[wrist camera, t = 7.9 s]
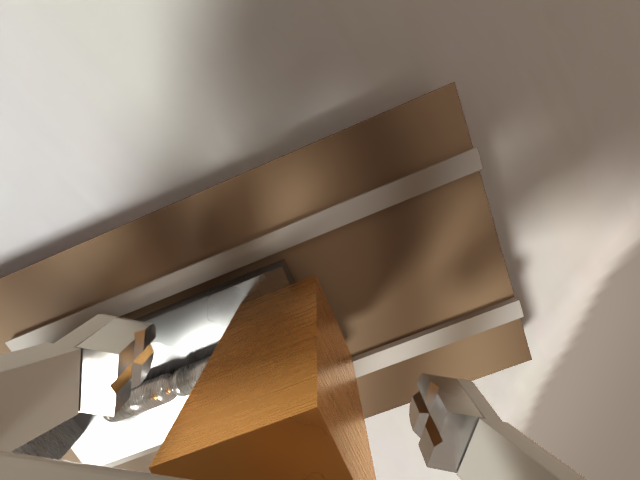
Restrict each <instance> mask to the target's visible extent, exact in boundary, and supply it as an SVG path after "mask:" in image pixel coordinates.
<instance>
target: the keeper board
mask: <svg viewBox="0 0 640 480" xmlns="http://www.w3.org/2000/svg"><path fill="white" fill-rule="evenodd" d="M481 169H483V166H482V163H481V159H480V156H479V152H478V148H473V146H472V143H471V139H470V136H469V132H468V129H467V125H466V121H465V118H464V114H463V111H462V107H461V103H460V100H459V96H458V93H457V89H456V85H455V82H453V83H451V84H448V85H446V86H444V87H442V88H439V89H437V90H435V91H432V92H430V93H428V94H425V95H423V96H421V97H418V98H416V99H414V100H411V101H409V102H407V103H405V104H402V105H400V106H398V107H395V108H393V109H391V110H388V111H386V112H384V113H381V114H379V115H377V116H374V117H372V118H370V119H368V120H365V121H363V122H361V123H358V124H356V125H354V126H351V127H349V128H347V129H344V130H342V131H340V132H337V133H335V134H333V135H331V136H328V137H326V138H324V139H321V140H319V141H317V142H314V143H312V144H310V145H307V146H305V147H303V148H300V149H298V150H296V151H294V152H291V153H289V154H287V155H284V156H282V157H280V158H277V159H275V160H273V161H270V162H268V163H266V164H264V165H261V166H259V167H257V168H254V169H252V170H250V171H247V172H245V173H243V174H240V175H238V176H236V177H233V178H231V179H229V180H227V181H224V182H222V183H220V184H217V185H215V186H213V187H210V188H208V189H206V190H203V191H201V192H199V193H196V194H194V195H192V196H190V197H187V198H185V199H183V200H180V201H178V202H176V203H173V204H171V205H169V206H166V207H164V208H162V209H159V210H157V211H155V212H153V213H150V214H148V215H146V216H143V217H141V218H139V219H136V220H134V221H132V222H129V223H127V224H125V225H122V226H120V227H118V228H116V229H113V230H111V231H109V232H106V233H104V234H102V235H99V236H97V237H95V238H92V239H90V240H88V241H85V242H83V243H81V244H79V245H76V246H74V247H72V248H69V249H67V250H65V251H62V252H60V253H58V254H55V255H53V256H51V257H49V258H46V259H44V260H42V261H39V262H37V263H35V264H32V265H30V266H28V267H25V268H23V269H21V270H18V271H16V272H14V273H12V274H9V275H7V276H5V277H2V278H0V355H1V354H5V353H9V352H13V351H17V350H20V349H24V348H28V347H32V346H36V345H40V344H43V343H55V342H57V341H58V340H60V339H61V338H63V337H64V336H66V335H67V334H69V333H70V332H72V331H73V330H75V329H76V328H78V327H79V326H81V325H82V324H84V323H85V322H87V321H88V320H90V319H92V318H93V317H95V316H96V315H98V314H107V315H113V316H118V317H123V318H128V319H133V320H134V319H136V318H138V317H141V316H143V315H146V314H148V313H151V312H153V311H156V310H158V309H161V308H163V307H166V306H168V305H171V304H173V303H176V302H178V301H180V300H183V299H185V298H188V297H190V296H193V295H195V294H198V293H200V292H203V291H205V290H208V289H210V288H213V287H215V286H218V285H220V284H223V283H225V282H227V281H230V280H232V279H235V278H237V277H240V276H242V275H245V274H247V273H250V272H252V271H255V270H257V269H260V268H262V267H265V266H267V265H269V264H272V263H274V262H277V261H279V260H282V259H285V261H286V263H287V265H288V267H289V269H290V272H291V274H292V276H293V278H294V280H295V282H296V283H297V282H300V281H302V280H305V279H307V278H310V277H312V276H315V275H316V276H317V278H318V280H319V283H320V285H321V287H322V289H323V292H324V294H325V296H326V298H327V301H328V303H329V305H330V307H331V310H332V312H333V314H334V317H335V319H336V321H337V323H338V326H339V328H340V330H341V332H342V335H343V337H344V339H345V341H346V344H347V346H348V348H349V351H350V353H351V355H352V360H353V365H354V370H355V375H356V380H357V385H358V390H359V395H360V400H361V405H362V410H363V416H364V419H365V418H368V417H371V416H374V415H376V414H379V413H382V412H385V411H388V410H391V409H393V408H396V407H399V406H402V405H405V404H407V403H410V402H411V400H412V397H413V396H414V395H415V394H416V393H418V392H419V389H418V386H417V382H418V379H419V377H420V375H421V374H422V373H424V374H430V375H437V376H443V377H449V378H457V379H464V380H470V381H473V380H475V379H478V378H481V377H484V376H487V375H490V374H492V373H495V372H498V371H501V370H504V369H506V368H509V367H512V366H515V365H518V364H521V363H523V362H526V361H529V360H532V358H531V354H530V351H529V347H528V344H527V340H526V336H525V333H524V329H523V326H522V322H521V319H520V318H522V317H524V315H523V312H522V308H521V304H520V301H519V300H518V299H517V298H515V297H514V293H513V290H512V286H511V283H510V279H509V275H508V272H507V268H506V265H505V261H504V258H503V254H502V250H501V247H500V243H499V240H498V236H497V232H496V229H495V225H494V222H493V218H492V215H491V211H490V207H489V204H488V200H487V197H486V193H485V189H484V186H483V182H482V179H481V175H480V172H479V170H481ZM161 445H162V444H159V445H157V446H154V447H151V448H149V449H146V450H143V451H140V452H138V453H135V454H132V455H129V456H127V457H124V458H121V459H119V460H116V461H113V462H110V463H108V464H105V465H102V466H105V467H112V468H118V469H125V470H132V471H138V472H145V473H151V471H150V470H149V466H150V464H151V462H152V461H153V459H154V457H155V455H156V454H157V452H158V450H159V448H160V446H161ZM60 460H65V461H72V462H79V463H82V462H81V461H80V459H79V458H78V457H77V455H76V454H75V453H74V451H73V450H72V449H71V448H70V449H69V450H68V451H67V453H66V454H65V455H64V456H63V457H62V458H61V459H60Z"/></svg>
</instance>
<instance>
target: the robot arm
mask: <svg viewBox="0 0 640 480" xmlns="http://www.w3.org/2000/svg"><path fill="white" fill-rule="evenodd" d="M155 338H156V326H155V325H154V324H152V323H147V322H143V321H138V320H133V319H128V318H123V317H118V316H113V315H107V314H98V315H96V316H95V317H93V318H92V319H90V320H88V321H87V322H85V323H84V324H82V325H81V326H79V327H78V328H76V329H75V330H73V331H72V332H70V333H69V334H67V335H66V336H64V337H63V338H61V339H60V340H58V341H57V342H55V343H43V344H40V345H36V346H32V347H28V348H24V349H20V350H17V351H13V352H9V353H5V354H1V355H0V480H191V479H185V478H178V477H172V476H165V475H158V474H152V473H145V472H138V471H132V470H125V469H118V468H112V467H105V466H98V465H92V464H85V463H79V462H72V461H65V460H59V459H52V458H45V457H39V456H32V455H25V454H19V453H12V452H11V451H13V450H15V449H17V448H18V447H20V446H22V445H24V444H26V443H27V442H29V441H31V440H33V439H34V438H36V437H38V436H40V435H42V434H43V433H45V432H47V431H49V430H51V429H52V428H54V427H56V426H58V425H59V424H61V423H63V422H65V421H67V420H68V419H70V418H72V417H74V416H76V415H77V414H78V413H79V412H83V413H90V414H98V415H106V416H115V415H116V414H117V412H118V411H119V410H120V409H121V408H122V406H123V405H124V404H125V403H126V401H127V400H128V399H129V398H130V394H131V389H132V388H134V387H136V386H139V385H140V384H141V383H142V382H143V380H144V379H145V378H146V376H147V374H148V372H149V370H150V368H151V366H152V362H153V358H154V350H153V348H152V346H151V345H150V343H151V342H152V341H153V340H154V339H155ZM417 386H418V389H419V392H418V393H416V394H415V395H414V396H413V397H412V400H411V403H410V413H409V416H410V422H411V426H412V429H413V431H414V432H415V433H416V434H417V435H418V436H419V437H420V438H421V439H420V442H419V447H420V450H421V453H422V455H423V458H424V460H425V463H426V466H427V467H429V468H434V469H439V470H445V471H450V472H455V473H457V475H458V476H459V478H460V479H461V480H588V479H586V478H585V477H583V476H582V475H580V474H579V473H577V472H576V471H575V470H573V469H572V468H571V467H569V466H568V465H566V464H565V463H564V462H562V461H561V460H559V459H558V458H557V457H555V456H554V455H552V454H551V453H550V452H548V451H547V450H545V449H544V448H543V447H541V446H540V445H538V444H537V443H535V442H534V441H533V440H531V439H530V438H528V437H527V436H526V435H524V434H523V433H521V432H520V431H519V430H517V429H516V428H514V427H513V426H512V425H510V424H509V423H506V422H502V420H501V419H500V418H499V416H498V415H497V414H496V412H495V411H494V410H493V408H492V407H491V406H490V404H489V403H488V402H487V400H486V399H485V398H484V396H483V395H482V394H481V392H480V391H479V390H478V388H477V387H476V386H475V384H474V383H473V382H471V381H470V380H464V379H457V378H449V377H443V376H437V375H430V374H424V373H422V374H421V375H420V377H419V379H418V382H417Z"/></svg>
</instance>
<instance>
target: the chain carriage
mask: <svg viewBox="0 0 640 480" xmlns="http://www.w3.org/2000/svg"><path fill="white" fill-rule="evenodd" d="M134 320H138V321H143V322H147V323H152V324H154V325H155V326H156V338H155V339H154V340H153V341H152V342H151V343H150V345H151V346H152V348H153V350H154V358H153V362H152V366H151V368H150V370H149V372H148V374H147V376H146V378H145V379H144V380H143V382H142V383H141V384H140V385H139V386H136V387H134V388H132V389H131V394H130V398H129V399H128V400H127V401H126V403H125V404H124V405H123V406H122V408H121V409H120V410H119V411H118V412H117V414H116V415H115V416H106V415H98V414H90V413H83V412H79V413H78V414H77V415H76V416H74V417H72V418H70V419H68V420H67V421H65V422H63V423H61V424H59V425H58V426H56V427H54V428H52V429H51V430H49V431H47V432H45V433H43V434H42V435H40V436H38V437H36V438H34V439H33V440H31V441H29V442H27V443H26V444H24V445H22V446H20V447H18V448H17V449H15V450H13V451H11V452H12V453H19V454H25V455H32V456H39V457H45V458H52V459H59V460H60V459H61V458H62V457H63V456H64V455H65V454H66V453H67V451H68V450H69V449H70V448H71V449H72V450H73V451H74V453H75V454H76V455H77V457H78V458H79V459H80V461H81V462H82V463H85V464H92V465H98V466H102V465H105V464H108V463H110V462H113V461H116V460H119V459H121V458H124V457H127V456H129V455H132V454H135V453H138V452H140V451H143V450H146V449H149V448H151V447H154V446H157V445H159V444H162V445H161V446H160V448H159V450H158V452H157V454H156V455H155V457H154V459H153V461H152V462H151V464H150V466H149V470H150V471H151V473H152V474H158V475H165V476H172V477H178V478H185V479H191V480H376V477H375V472H374V466H373V461H372V456H371V451H370V446H369V441H368V436H367V431H366V426H365V421H364V416H363V410H362V405H361V400H360V395H359V390H358V385H357V380H356V375H355V370H354V365H353V360H352V355H351V353H350V351H349V348H348V346H347V344H346V341H345V339H344V337H343V335H342V332H341V330H340V328H339V326H338V323H337V321H336V319H335V317H334V314H333V312H332V310H331V307H330V305H329V303H328V301H327V298H326V296H325V294H324V292H323V289H322V287H321V285H320V283H319V280H318V278H317V276H316V275H315V276H312V277H310V278H307V279H305V280H302V281H300V282H297V283H296V282H295V280H294V278H293V276H292V274H291V272H290V269H289V267H288V265H287V263H286V261H285V259H282V260H279V261H277V262H274V263H272V264H269V265H267V266H265V267H262V268H260V269H257V270H255V271H252V272H250V273H247V274H245V275H242V276H240V277H237V278H235V279H232V280H230V281H227V282H225V283H223V284H220V285H218V286H215V287H213V288H210V289H208V290H205V291H203V292H200V293H198V294H195V295H193V296H190V297H188V298H185V299H183V300H180V301H178V302H176V303H173V304H171V305H168V306H166V307H163V308H161V309H158V310H156V311H153V312H151V313H148V314H146V315H143V316H141V317H138V318H136V319H134Z"/></svg>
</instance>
